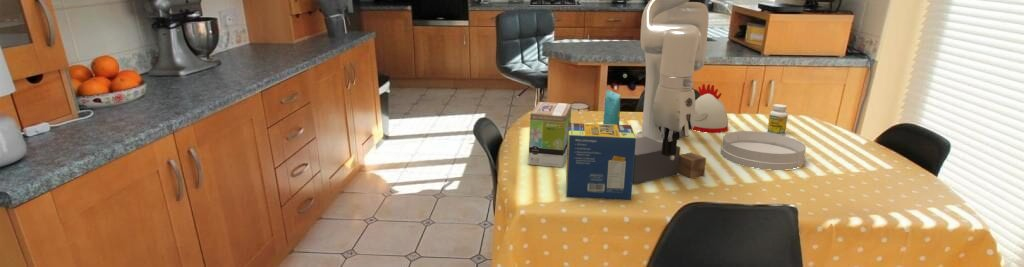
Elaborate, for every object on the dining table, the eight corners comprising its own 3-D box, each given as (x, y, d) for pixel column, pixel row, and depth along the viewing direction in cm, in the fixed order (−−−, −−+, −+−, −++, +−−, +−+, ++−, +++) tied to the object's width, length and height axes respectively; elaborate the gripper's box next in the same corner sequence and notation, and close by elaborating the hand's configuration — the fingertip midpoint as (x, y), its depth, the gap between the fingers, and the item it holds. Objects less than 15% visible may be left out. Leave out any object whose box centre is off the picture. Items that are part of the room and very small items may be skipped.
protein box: (565, 181, 139) (568, 122, 135) (627, 184, 138) (632, 124, 134) (565, 197, 129) (568, 134, 125) (631, 201, 128) (637, 137, 124)
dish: (813, 158, 160) (816, 141, 158) (789, 177, 144) (792, 159, 143) (737, 142, 174) (739, 126, 173) (707, 158, 158) (709, 141, 157)
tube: (623, 161, 155) (628, 94, 149) (609, 163, 153) (613, 95, 147) (608, 153, 161) (612, 88, 155) (594, 155, 159) (597, 90, 153)
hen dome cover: (698, 120, 198) (702, 78, 194) (734, 128, 189) (740, 85, 184) (677, 126, 189) (681, 84, 185) (714, 135, 180) (719, 90, 175)
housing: (600, 168, 148) (602, 144, 146) (643, 160, 155) (645, 136, 153) (629, 183, 138) (631, 157, 136) (674, 174, 145) (677, 148, 143)
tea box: (564, 168, 149) (566, 115, 144) (527, 165, 151) (528, 112, 146) (569, 151, 163) (571, 102, 159) (536, 148, 165) (537, 100, 160)
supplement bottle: (785, 133, 183) (790, 105, 180) (783, 137, 179) (788, 108, 176) (768, 130, 186) (772, 102, 183) (765, 134, 181) (770, 106, 179)
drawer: (604, 169, 147) (606, 142, 145) (646, 161, 154) (648, 134, 152) (635, 185, 137) (637, 155, 135) (678, 175, 143) (681, 147, 141)
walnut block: (689, 169, 148) (691, 152, 147) (703, 175, 144) (706, 157, 143) (675, 172, 146) (677, 155, 144) (689, 179, 142) (691, 160, 140)
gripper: (711, 86, 126) (702, 161, 131) (665, 74, 138) (659, 143, 144) (687, 90, 122) (678, 167, 128) (642, 77, 135) (636, 147, 141)
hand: (668, 154), depth 136 cm, fingers closed
